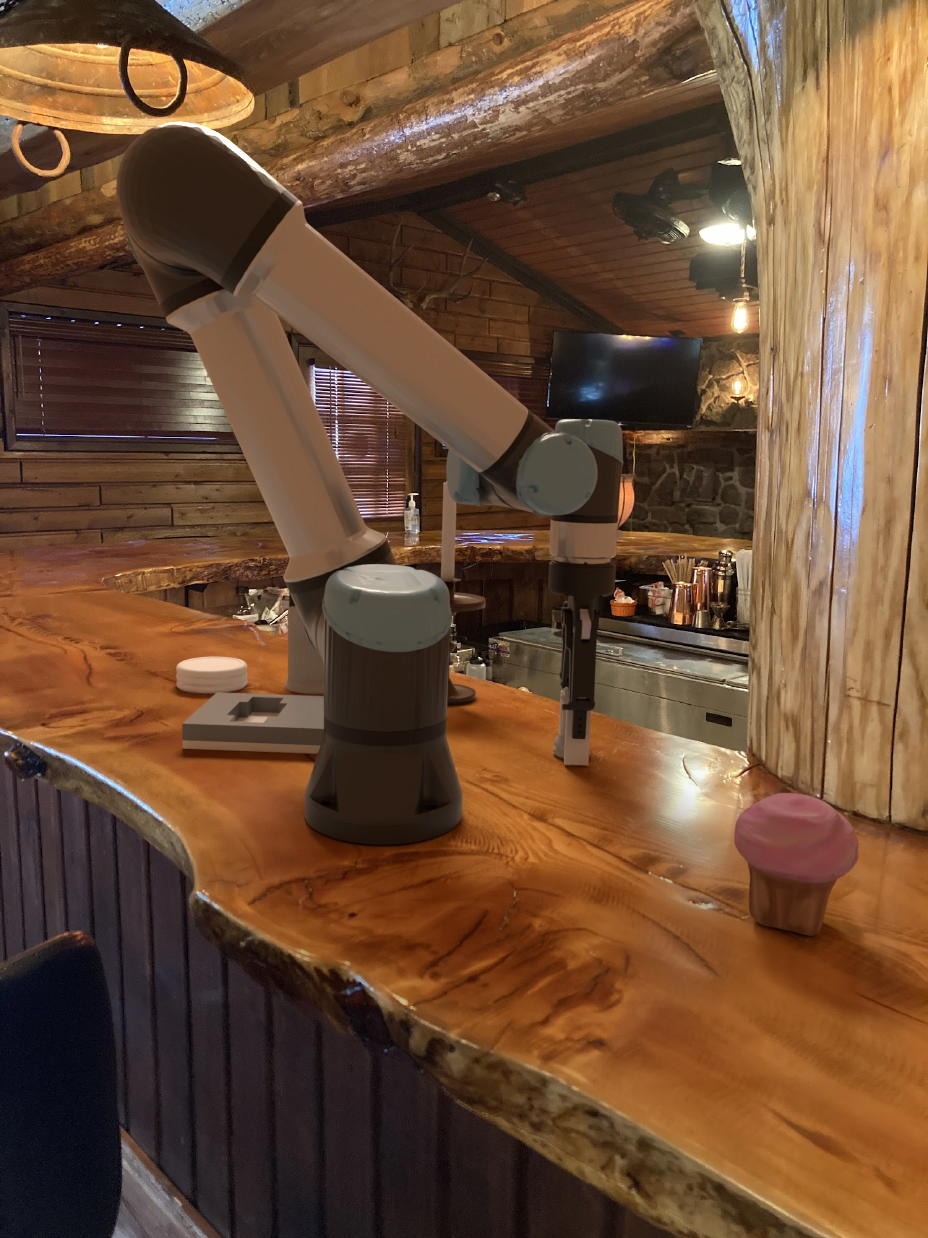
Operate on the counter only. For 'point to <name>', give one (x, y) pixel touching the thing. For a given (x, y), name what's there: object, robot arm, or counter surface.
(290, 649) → the glass holder
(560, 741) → the rook chess piece
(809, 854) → the cupcake
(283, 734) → the grey panel with recess
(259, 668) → the counter surface
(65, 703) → the counter surface
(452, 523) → the candlestick
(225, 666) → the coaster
